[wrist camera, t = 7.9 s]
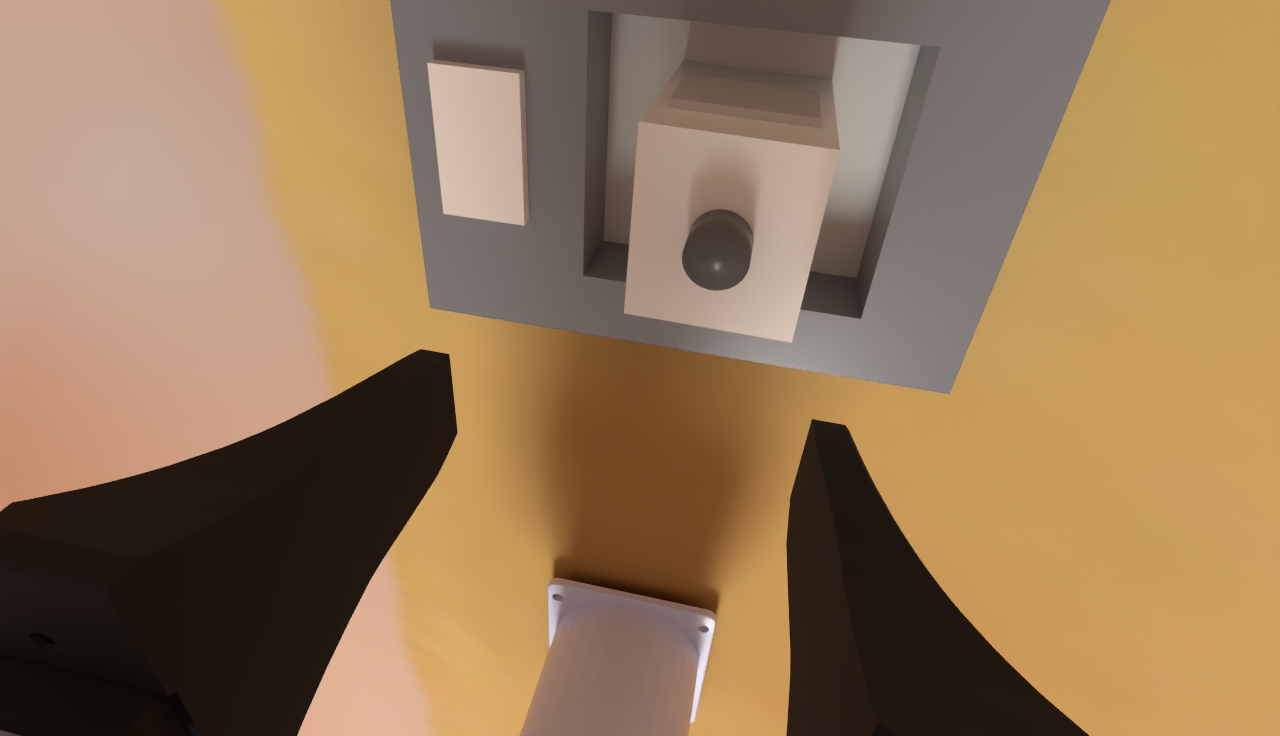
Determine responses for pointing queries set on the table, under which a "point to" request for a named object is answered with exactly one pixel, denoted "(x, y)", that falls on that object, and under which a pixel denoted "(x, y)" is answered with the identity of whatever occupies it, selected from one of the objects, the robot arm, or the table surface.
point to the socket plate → (755, 40)
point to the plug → (730, 198)
